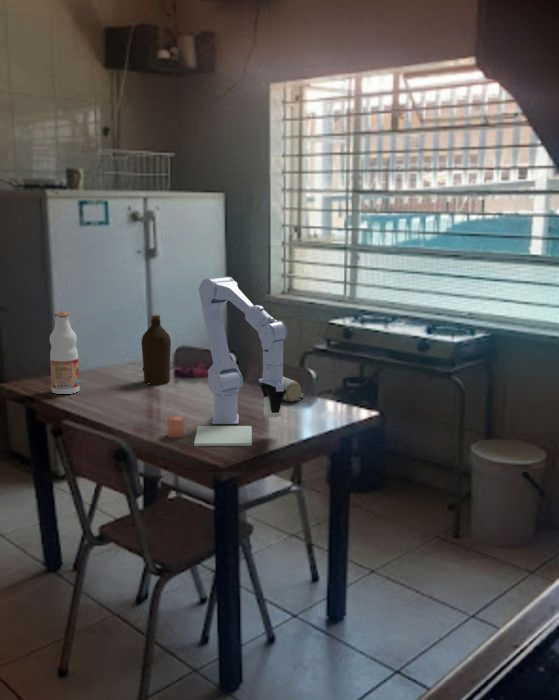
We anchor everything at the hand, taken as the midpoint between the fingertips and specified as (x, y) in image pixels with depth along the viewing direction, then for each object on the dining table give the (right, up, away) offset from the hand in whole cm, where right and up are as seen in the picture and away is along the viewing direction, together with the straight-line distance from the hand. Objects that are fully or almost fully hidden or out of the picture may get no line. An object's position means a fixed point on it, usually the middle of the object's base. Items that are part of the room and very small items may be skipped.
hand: (272, 409), depth 219 cm
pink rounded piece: (-28, -7, 0) cm, 29 cm away
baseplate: (-14, -8, -1) cm, 16 cm away
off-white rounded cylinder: (0, -1, 0) cm, 2 cm away
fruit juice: (-73, +2, +47) cm, 87 cm away
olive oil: (-43, +5, +63) cm, 76 cm away
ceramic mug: (+5, 0, +41) cm, 41 cm away
